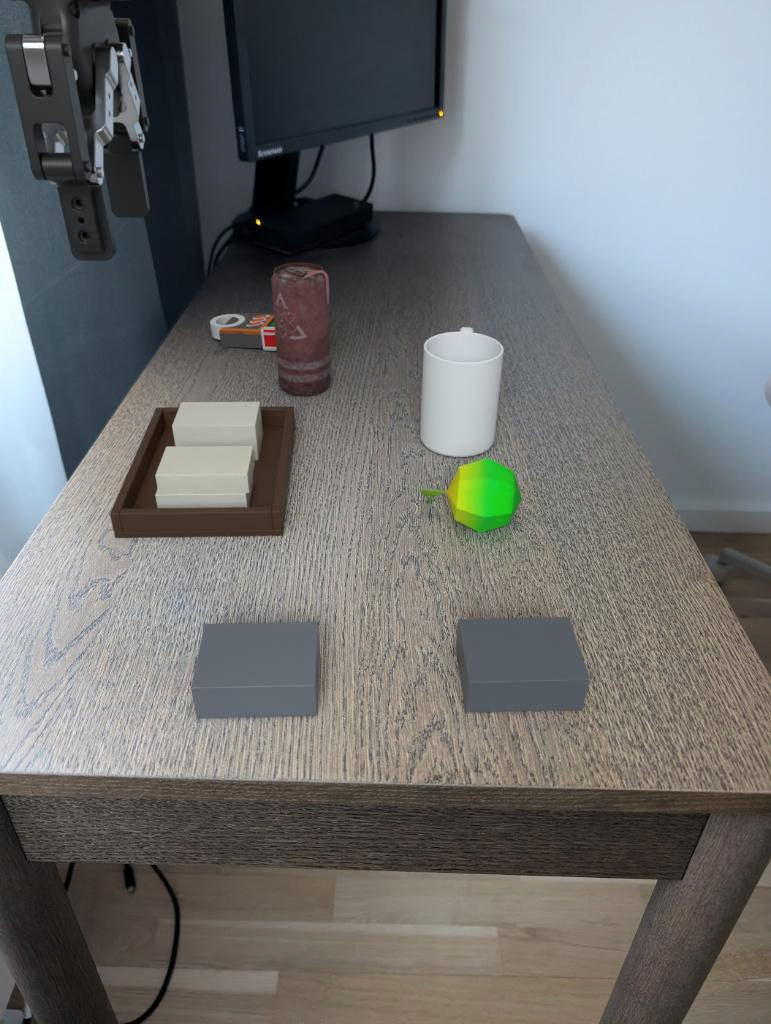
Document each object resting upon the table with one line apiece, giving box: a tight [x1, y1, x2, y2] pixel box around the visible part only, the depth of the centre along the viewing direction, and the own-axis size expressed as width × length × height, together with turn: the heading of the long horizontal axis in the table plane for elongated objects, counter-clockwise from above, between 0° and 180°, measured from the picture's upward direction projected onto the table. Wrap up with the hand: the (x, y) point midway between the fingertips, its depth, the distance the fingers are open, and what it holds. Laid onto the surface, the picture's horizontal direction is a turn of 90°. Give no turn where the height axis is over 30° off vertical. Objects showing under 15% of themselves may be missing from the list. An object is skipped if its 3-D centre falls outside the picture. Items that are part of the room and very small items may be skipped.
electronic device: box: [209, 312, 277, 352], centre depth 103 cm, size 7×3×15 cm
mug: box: [419, 326, 505, 458], centre depth 81 cm, size 12×8×10 cm, turn 172°
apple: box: [420, 457, 523, 534], centre depth 69 cm, size 7×6×9 cm
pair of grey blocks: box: [190, 616, 591, 719], centre depth 54 cm, size 26×6×3 cm, turn 92°
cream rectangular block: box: [172, 401, 263, 460], centre depth 78 cm, size 8×5×4 cm, turn 92°
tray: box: [109, 405, 296, 539], centre depth 75 cm, size 15×20×3 cm
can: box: [270, 262, 331, 397], centre depth 88 cm, size 6×6×14 cm
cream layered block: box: [155, 446, 255, 508], centre depth 71 cm, size 8×5×4 cm, turn 92°
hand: (115, 236), depth 45 cm, fingers open, 8 cm apart
